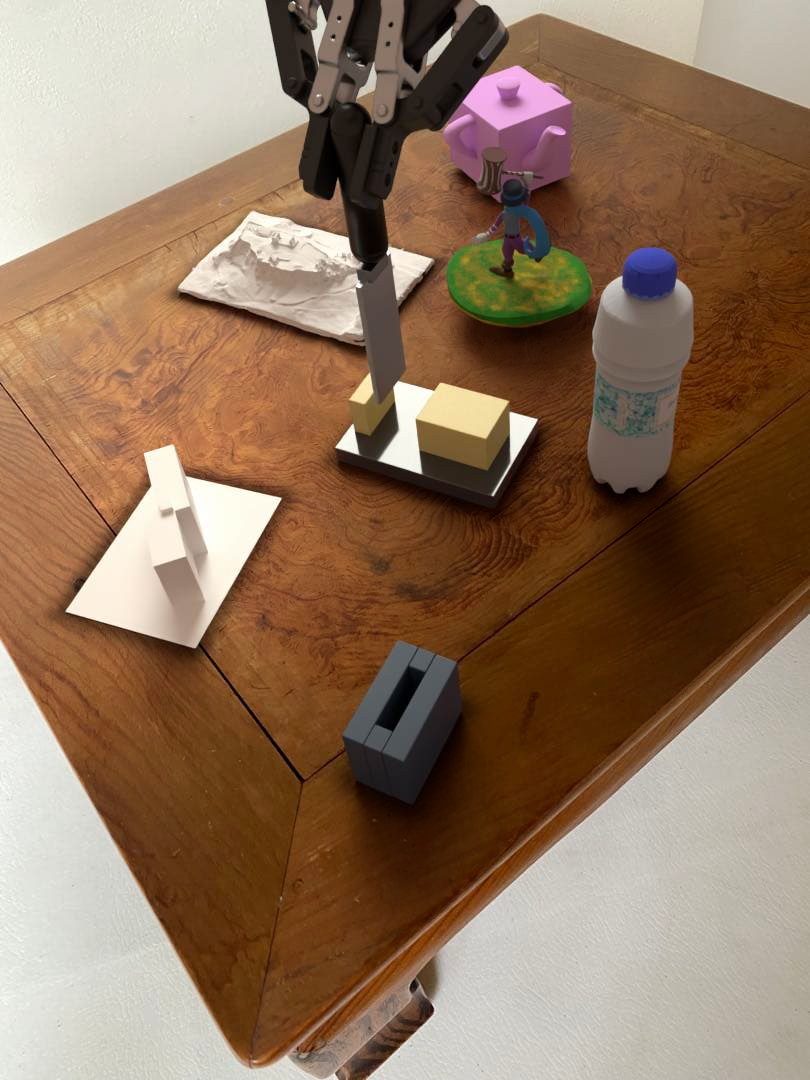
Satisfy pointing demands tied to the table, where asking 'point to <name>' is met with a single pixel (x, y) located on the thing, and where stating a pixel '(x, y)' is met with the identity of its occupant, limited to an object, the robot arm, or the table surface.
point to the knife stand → (404, 721)
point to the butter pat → (368, 407)
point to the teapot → (513, 127)
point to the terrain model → (294, 276)
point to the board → (401, 458)
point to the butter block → (463, 425)
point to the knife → (369, 257)
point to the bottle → (639, 370)
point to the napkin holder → (175, 554)
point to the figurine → (515, 261)
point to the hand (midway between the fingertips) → (340, 199)
